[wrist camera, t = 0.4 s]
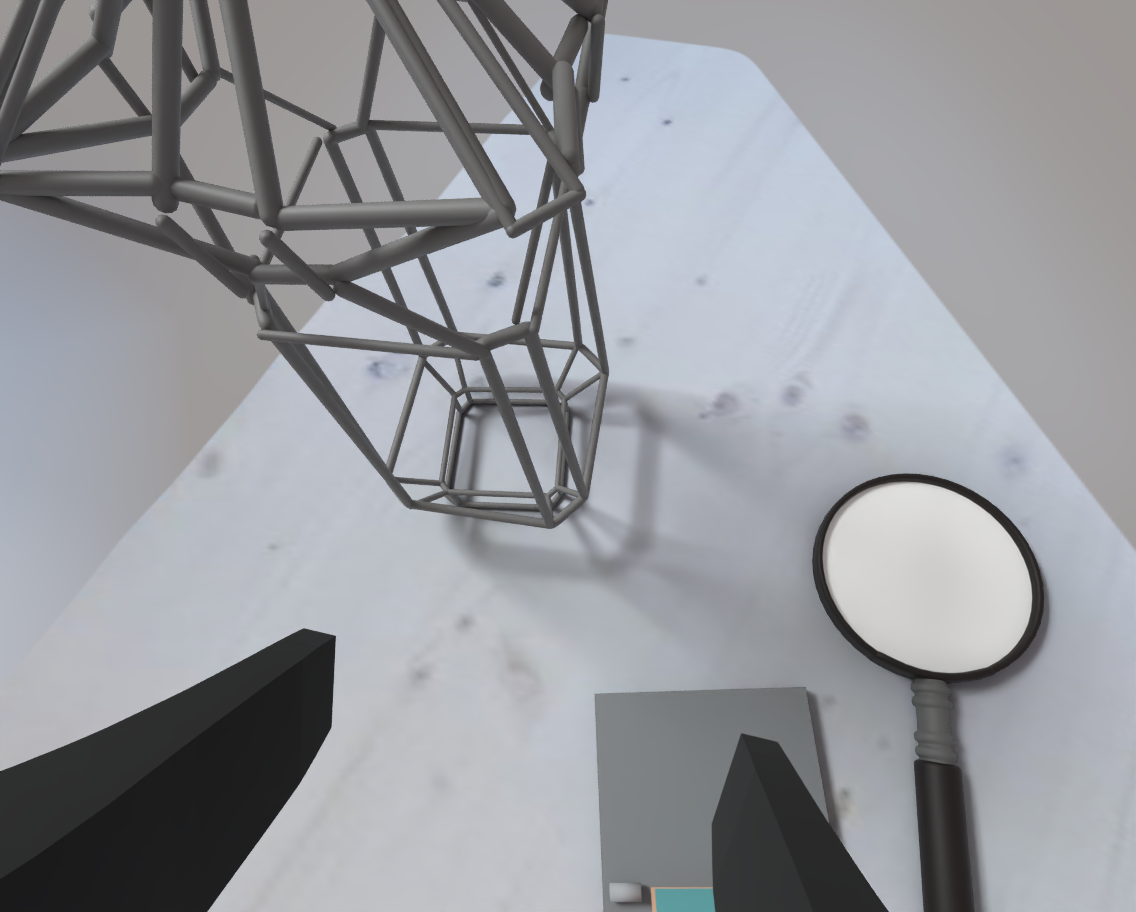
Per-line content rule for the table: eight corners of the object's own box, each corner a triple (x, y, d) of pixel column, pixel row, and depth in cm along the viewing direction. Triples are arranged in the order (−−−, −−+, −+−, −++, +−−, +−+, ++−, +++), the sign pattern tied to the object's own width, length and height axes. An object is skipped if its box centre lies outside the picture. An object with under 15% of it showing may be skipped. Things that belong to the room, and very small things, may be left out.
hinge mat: (877, 1135, 27) (893, 1164, 25) (614, 1126, 28) (612, 1153, 26) (801, 687, 34) (809, 686, 33) (595, 694, 36) (593, 693, 34)
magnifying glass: (810, 895, 31) (822, 907, 29) (808, 474, 40) (817, 461, 38) (1078, 951, 29) (1110, 968, 27) (1010, 494, 38) (1030, 481, 36)
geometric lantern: (433, 354, 47) (23, -425, 15) (632, 369, 45) (654, -503, 13) (381, 548, 41) (-510, -72, 9) (608, 576, 38) (537, -110, 7)
